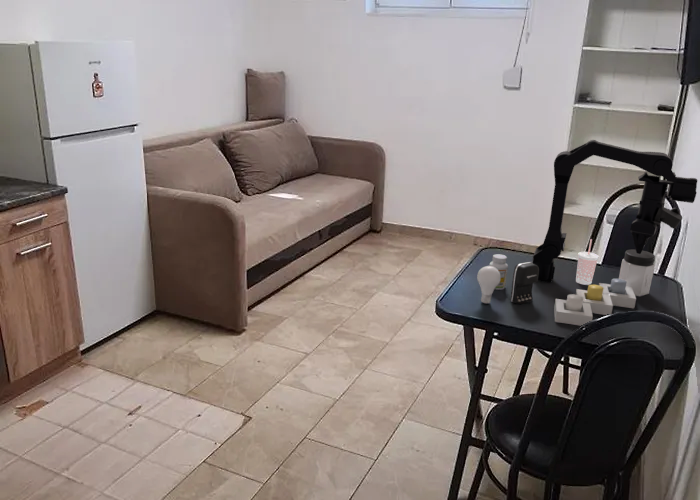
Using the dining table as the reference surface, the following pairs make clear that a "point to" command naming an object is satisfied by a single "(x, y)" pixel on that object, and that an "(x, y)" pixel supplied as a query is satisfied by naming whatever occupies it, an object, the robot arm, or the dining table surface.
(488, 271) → the lightbulb
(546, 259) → the robot arm
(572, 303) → the offwhite button
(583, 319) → the offwhite housing
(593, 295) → the mustard button
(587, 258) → the beverage cup
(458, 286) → the dining table surface
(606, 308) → the hollow square frame
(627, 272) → the jar
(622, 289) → the slate button
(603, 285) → the light gray housing
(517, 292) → the battery charger
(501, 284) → the supplement bottle
